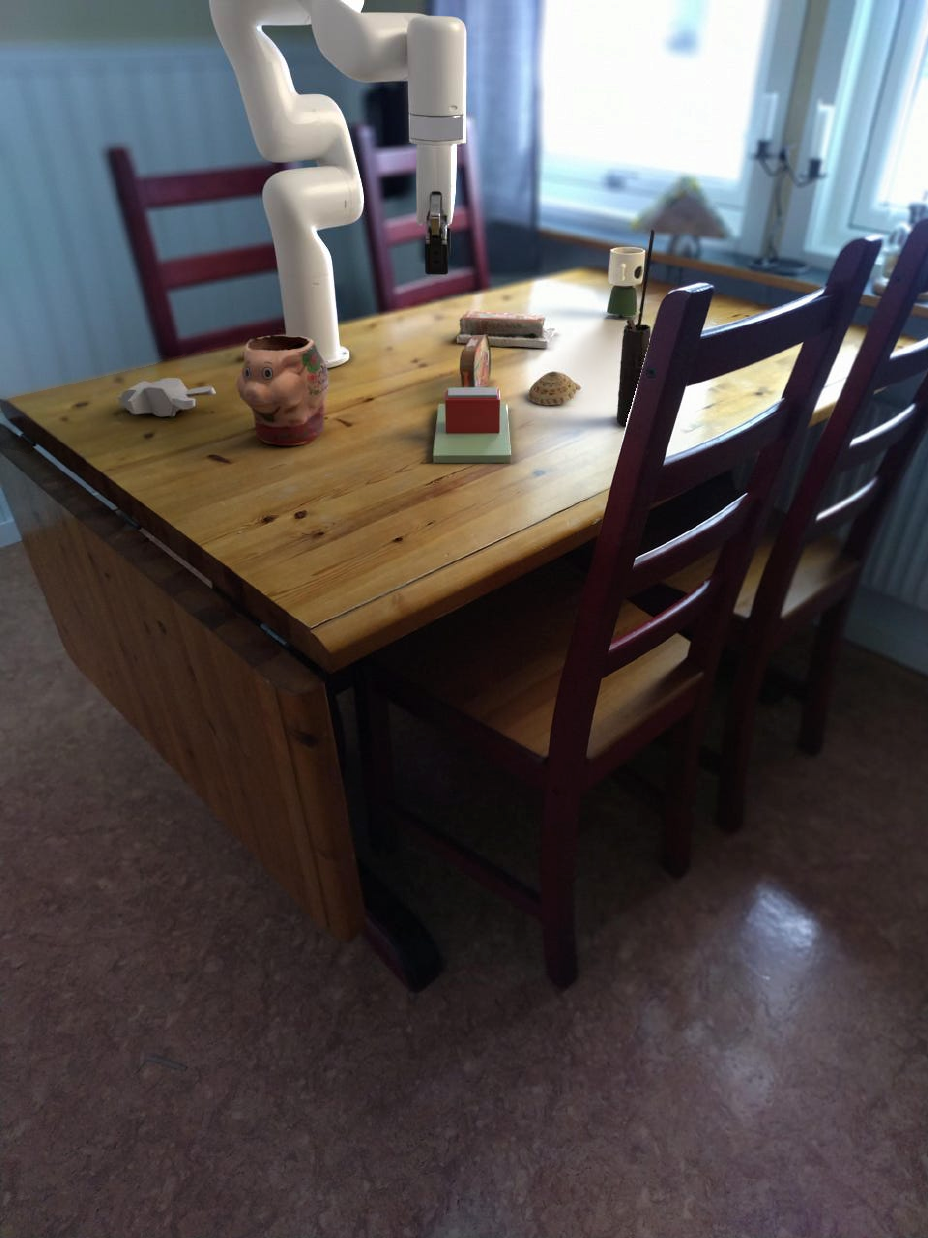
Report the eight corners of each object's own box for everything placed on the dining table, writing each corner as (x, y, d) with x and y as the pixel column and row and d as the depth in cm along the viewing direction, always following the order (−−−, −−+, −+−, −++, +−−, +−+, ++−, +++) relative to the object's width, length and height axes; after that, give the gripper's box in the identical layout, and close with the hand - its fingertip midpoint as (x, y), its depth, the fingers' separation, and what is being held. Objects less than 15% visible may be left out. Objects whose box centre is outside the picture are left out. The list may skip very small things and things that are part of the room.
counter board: (433, 463, 120) (433, 455, 120) (438, 410, 137) (438, 403, 136) (510, 462, 120) (510, 454, 120) (506, 410, 137) (506, 403, 136)
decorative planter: (280, 405, 140) (268, 318, 132) (351, 409, 138) (343, 322, 130) (229, 454, 124) (212, 359, 116) (309, 460, 122) (297, 364, 114)
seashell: (592, 381, 141) (566, 374, 135) (582, 415, 142) (556, 409, 136) (552, 370, 145) (526, 363, 139) (543, 403, 147) (516, 397, 141)
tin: (476, 407, 138) (476, 355, 133) (457, 406, 138) (456, 354, 134) (492, 376, 150) (493, 328, 145) (475, 375, 150) (475, 327, 146)
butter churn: (595, 408, 137) (610, 219, 121) (654, 408, 137) (677, 219, 121) (601, 430, 129) (617, 232, 113) (663, 430, 129) (689, 232, 113)
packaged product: (455, 318, 162) (466, 305, 170) (455, 344, 165) (467, 329, 173) (548, 324, 159) (556, 309, 167) (547, 349, 162) (554, 334, 170)
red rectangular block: (499, 433, 126) (500, 396, 123) (445, 433, 126) (444, 396, 123) (498, 422, 130) (499, 385, 126) (446, 422, 130) (445, 385, 126)
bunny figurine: (139, 373, 141) (215, 371, 136) (149, 403, 144) (224, 402, 139) (102, 392, 134) (181, 391, 129) (113, 424, 136) (191, 424, 131)
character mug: (633, 323, 175) (640, 257, 168) (599, 321, 177) (605, 254, 170) (642, 310, 184) (649, 245, 176) (610, 307, 186) (615, 243, 178)
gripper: (413, 121, 120) (416, 250, 130) (404, 137, 106) (408, 280, 116) (466, 122, 120) (465, 250, 130) (464, 138, 106) (462, 281, 116)
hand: (438, 264), depth 123 cm, fingers open, 9 cm apart
